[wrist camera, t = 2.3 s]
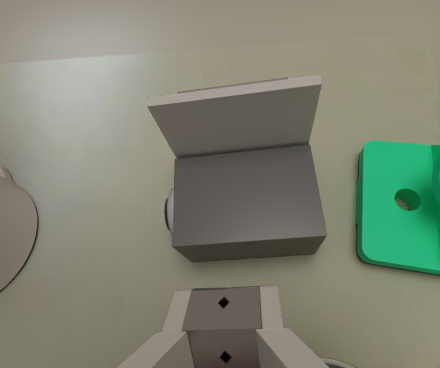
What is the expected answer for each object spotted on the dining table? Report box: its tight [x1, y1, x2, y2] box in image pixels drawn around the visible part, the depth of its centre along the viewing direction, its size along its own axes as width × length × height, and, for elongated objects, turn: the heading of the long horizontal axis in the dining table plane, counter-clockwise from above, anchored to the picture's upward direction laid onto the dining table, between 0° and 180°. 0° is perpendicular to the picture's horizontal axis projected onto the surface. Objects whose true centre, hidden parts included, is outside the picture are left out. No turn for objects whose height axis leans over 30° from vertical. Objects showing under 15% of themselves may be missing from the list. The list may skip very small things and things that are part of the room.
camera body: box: [165, 145, 327, 262], centre depth 29 cm, size 13×8×7 cm, turn 92°
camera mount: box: [356, 141, 440, 275], centre depth 26 cm, size 12×8×10 cm, turn 169°
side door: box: [147, 75, 322, 159], centre depth 27 cm, size 12×2×13 cm, turn 92°
